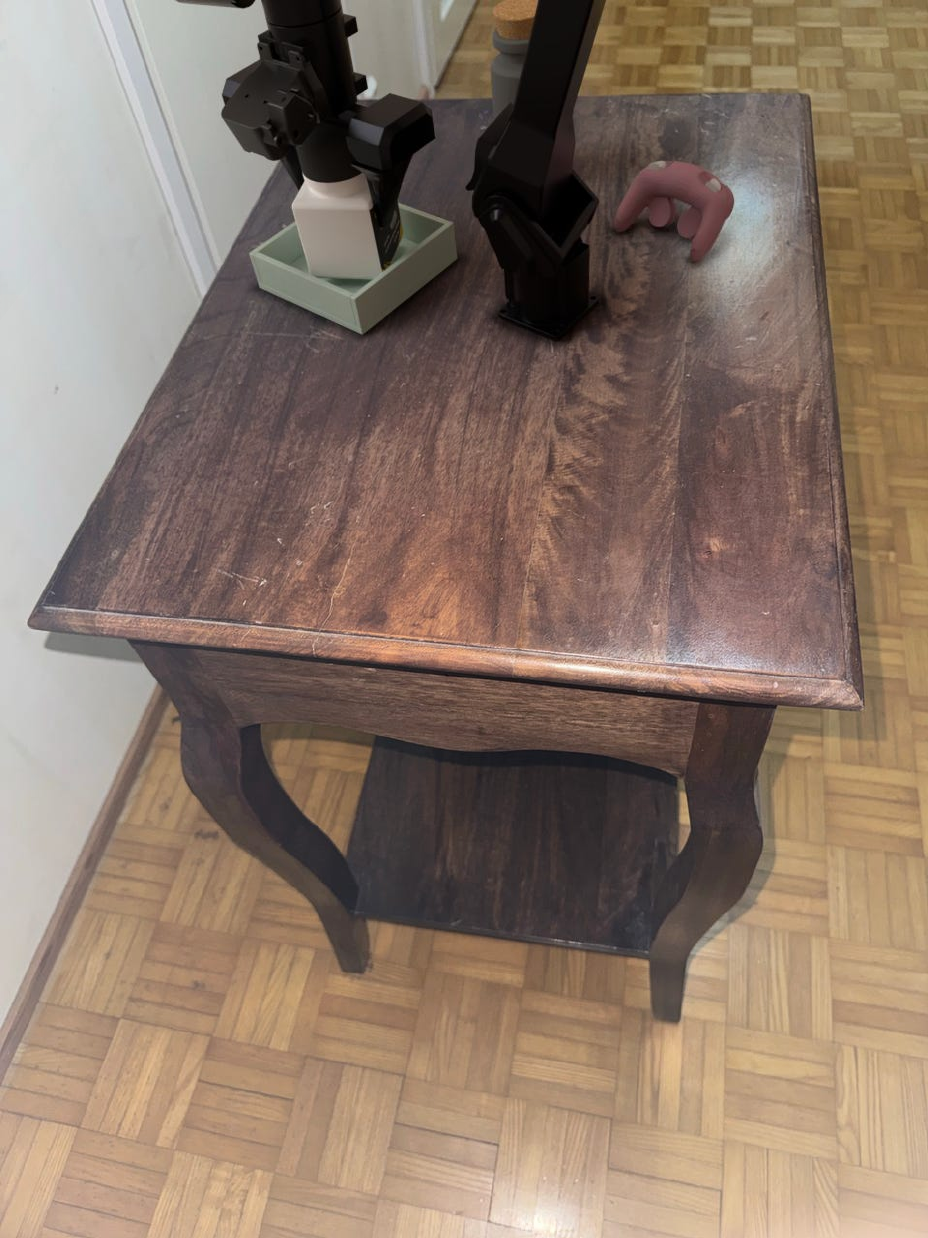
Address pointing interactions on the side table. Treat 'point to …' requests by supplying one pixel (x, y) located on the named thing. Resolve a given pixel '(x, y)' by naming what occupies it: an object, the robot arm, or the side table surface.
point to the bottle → (510, 48)
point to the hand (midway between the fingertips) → (346, 211)
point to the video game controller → (688, 186)
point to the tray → (357, 299)
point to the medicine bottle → (340, 212)
